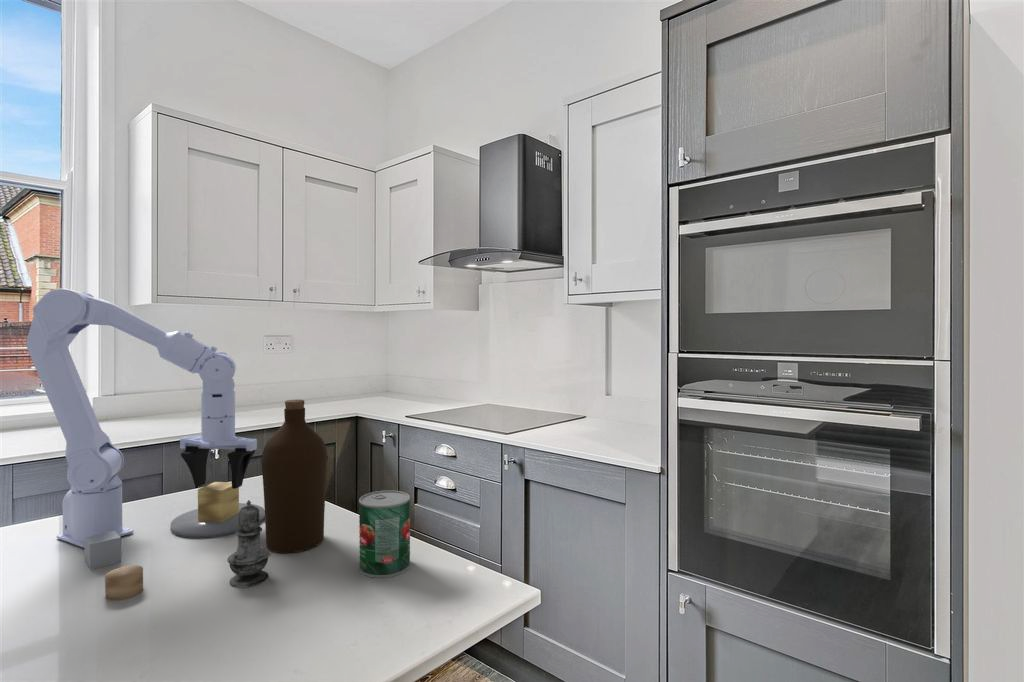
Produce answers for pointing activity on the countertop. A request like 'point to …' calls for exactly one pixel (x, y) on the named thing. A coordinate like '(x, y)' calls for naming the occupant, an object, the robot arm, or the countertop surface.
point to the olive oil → (294, 484)
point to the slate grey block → (102, 549)
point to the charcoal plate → (207, 524)
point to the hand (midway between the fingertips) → (218, 486)
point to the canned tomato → (384, 533)
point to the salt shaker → (248, 550)
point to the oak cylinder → (123, 582)
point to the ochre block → (217, 502)
